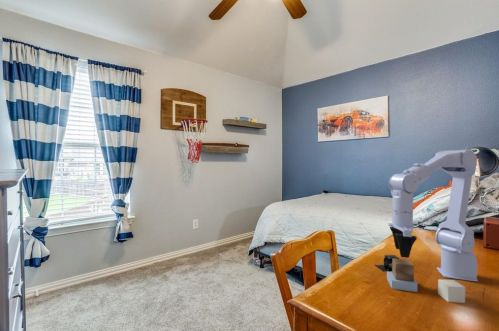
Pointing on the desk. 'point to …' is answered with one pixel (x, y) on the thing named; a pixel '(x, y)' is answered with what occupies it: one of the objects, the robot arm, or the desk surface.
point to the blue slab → (401, 283)
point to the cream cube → (451, 291)
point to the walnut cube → (403, 269)
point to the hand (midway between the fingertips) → (401, 252)
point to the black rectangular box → (387, 263)
